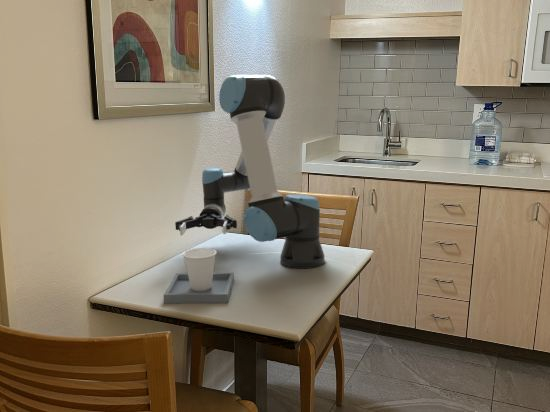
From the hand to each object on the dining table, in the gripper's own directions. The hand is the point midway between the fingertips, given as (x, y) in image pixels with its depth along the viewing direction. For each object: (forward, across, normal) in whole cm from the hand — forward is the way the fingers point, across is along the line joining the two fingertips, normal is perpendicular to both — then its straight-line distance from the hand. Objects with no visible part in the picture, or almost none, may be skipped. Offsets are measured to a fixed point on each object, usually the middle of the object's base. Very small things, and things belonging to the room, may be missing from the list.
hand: (202, 230), depth 172 cm
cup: (+12, 0, -15) cm, 19 cm away
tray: (+13, 0, -15) cm, 20 cm away
